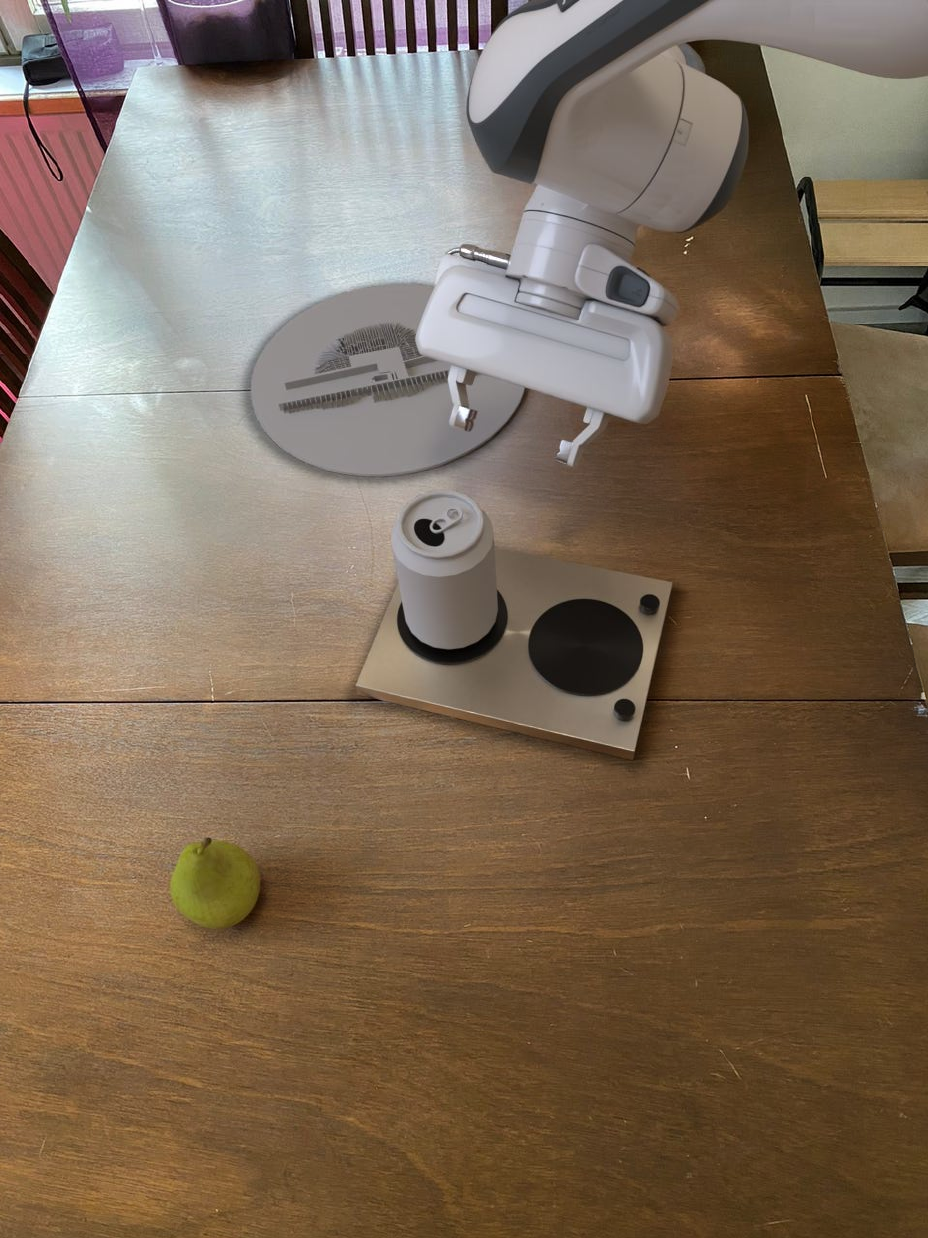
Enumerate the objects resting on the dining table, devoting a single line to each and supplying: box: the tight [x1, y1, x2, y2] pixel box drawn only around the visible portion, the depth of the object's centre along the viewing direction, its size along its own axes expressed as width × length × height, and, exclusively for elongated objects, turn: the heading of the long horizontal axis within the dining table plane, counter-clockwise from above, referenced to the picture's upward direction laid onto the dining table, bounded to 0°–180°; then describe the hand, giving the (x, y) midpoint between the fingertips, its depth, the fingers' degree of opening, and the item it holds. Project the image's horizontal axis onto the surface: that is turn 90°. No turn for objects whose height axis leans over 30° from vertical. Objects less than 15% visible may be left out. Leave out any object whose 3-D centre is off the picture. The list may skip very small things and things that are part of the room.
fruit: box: [169, 837, 261, 930], centre depth 63 cm, size 6×6×12 cm
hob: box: [355, 546, 674, 761], centre depth 78 cm, size 22×16×2 cm
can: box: [390, 489, 498, 649], centre depth 73 cm, size 8×8×12 cm
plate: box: [250, 283, 526, 478], centre depth 97 cm, size 28×28×1 cm
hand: (512, 446), depth 77 cm, fingers open, 8 cm apart
